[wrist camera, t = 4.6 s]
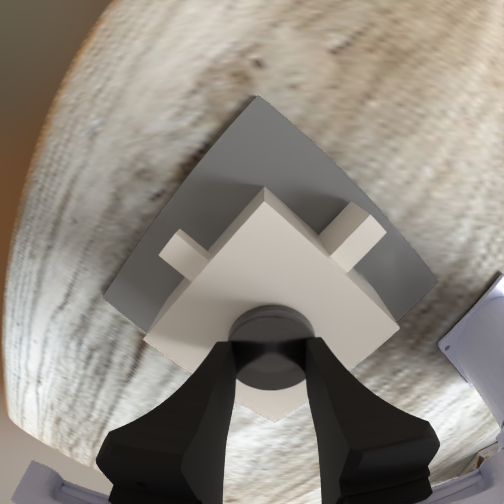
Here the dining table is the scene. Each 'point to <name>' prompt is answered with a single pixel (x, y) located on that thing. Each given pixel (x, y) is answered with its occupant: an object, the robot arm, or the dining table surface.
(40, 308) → the dining table surface
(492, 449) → the coffee box
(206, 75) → the dining table surface
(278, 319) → the plunger
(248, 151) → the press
